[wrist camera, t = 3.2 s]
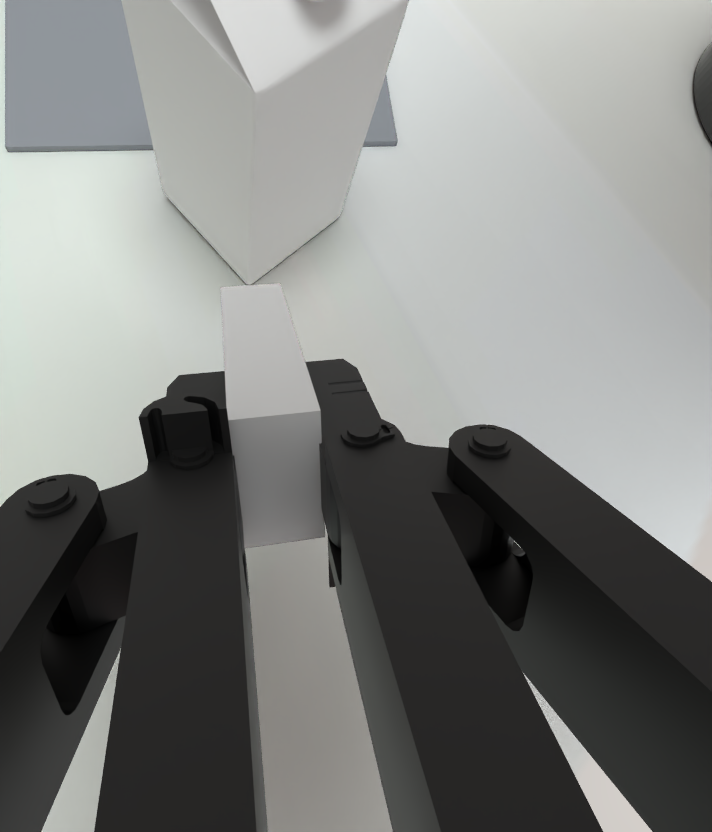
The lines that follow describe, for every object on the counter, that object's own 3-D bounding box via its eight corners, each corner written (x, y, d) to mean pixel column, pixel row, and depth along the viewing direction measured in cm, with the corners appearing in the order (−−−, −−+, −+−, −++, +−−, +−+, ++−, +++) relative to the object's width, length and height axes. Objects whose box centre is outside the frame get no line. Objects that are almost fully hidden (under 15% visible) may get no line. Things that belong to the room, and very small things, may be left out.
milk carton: (162, 194, 33) (68, -232, 15) (259, 128, 35) (284, -320, 17) (248, 288, 33) (261, -22, 15) (341, 217, 35) (455, -136, 17)
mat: (359, -71, 40) (360, -77, 40) (395, 145, 37) (397, 141, 36) (8, -88, 37) (5, -95, 36) (8, 151, 33) (5, 146, 32)
